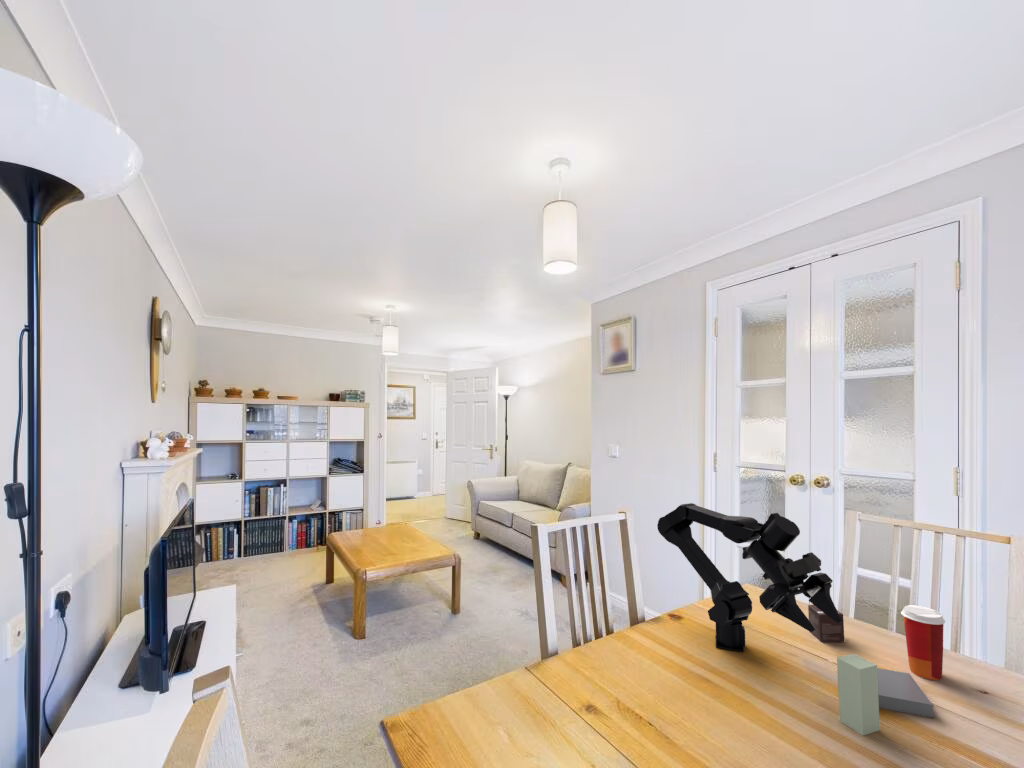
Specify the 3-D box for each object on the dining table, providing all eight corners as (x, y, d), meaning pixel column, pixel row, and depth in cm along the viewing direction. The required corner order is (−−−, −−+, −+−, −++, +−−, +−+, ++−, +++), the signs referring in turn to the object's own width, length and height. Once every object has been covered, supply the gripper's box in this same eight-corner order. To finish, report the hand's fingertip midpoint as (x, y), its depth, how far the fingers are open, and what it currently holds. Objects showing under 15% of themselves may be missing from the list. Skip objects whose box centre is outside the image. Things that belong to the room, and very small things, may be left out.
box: (832, 632, 130) (831, 604, 130) (845, 643, 124) (844, 614, 124) (808, 631, 130) (807, 604, 131) (820, 642, 124) (819, 613, 125)
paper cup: (937, 667, 112) (934, 606, 112) (955, 685, 104) (952, 620, 105) (897, 662, 114) (894, 602, 115) (912, 679, 107) (909, 615, 108)
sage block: (839, 720, 93) (836, 657, 94) (855, 715, 95) (853, 653, 95) (862, 735, 89) (860, 669, 90) (879, 730, 90) (876, 665, 91)
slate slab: (859, 703, 98) (859, 691, 98) (844, 673, 109) (844, 662, 110) (933, 717, 94) (932, 704, 94) (909, 685, 105) (909, 673, 105)
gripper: (764, 546, 104) (822, 613, 93) (817, 536, 112) (877, 597, 101) (738, 577, 110) (790, 644, 99) (791, 565, 118) (844, 625, 107)
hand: (827, 626), depth 101 cm, fingers open, 9 cm apart
